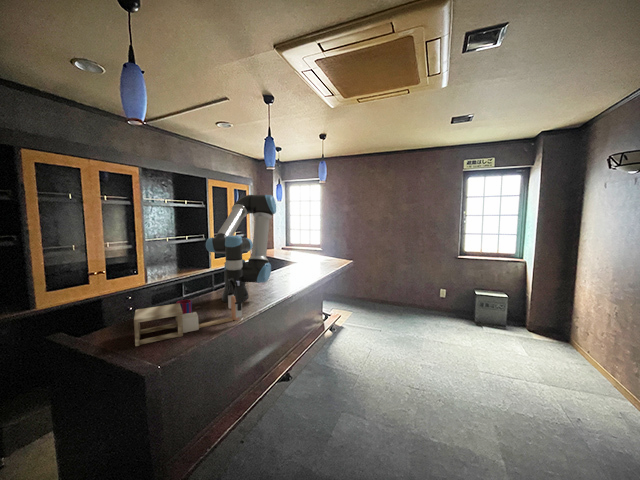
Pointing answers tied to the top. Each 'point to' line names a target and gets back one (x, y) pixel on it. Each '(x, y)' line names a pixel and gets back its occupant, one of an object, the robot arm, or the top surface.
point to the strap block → (192, 322)
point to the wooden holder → (155, 314)
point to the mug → (186, 306)
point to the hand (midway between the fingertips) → (234, 312)
